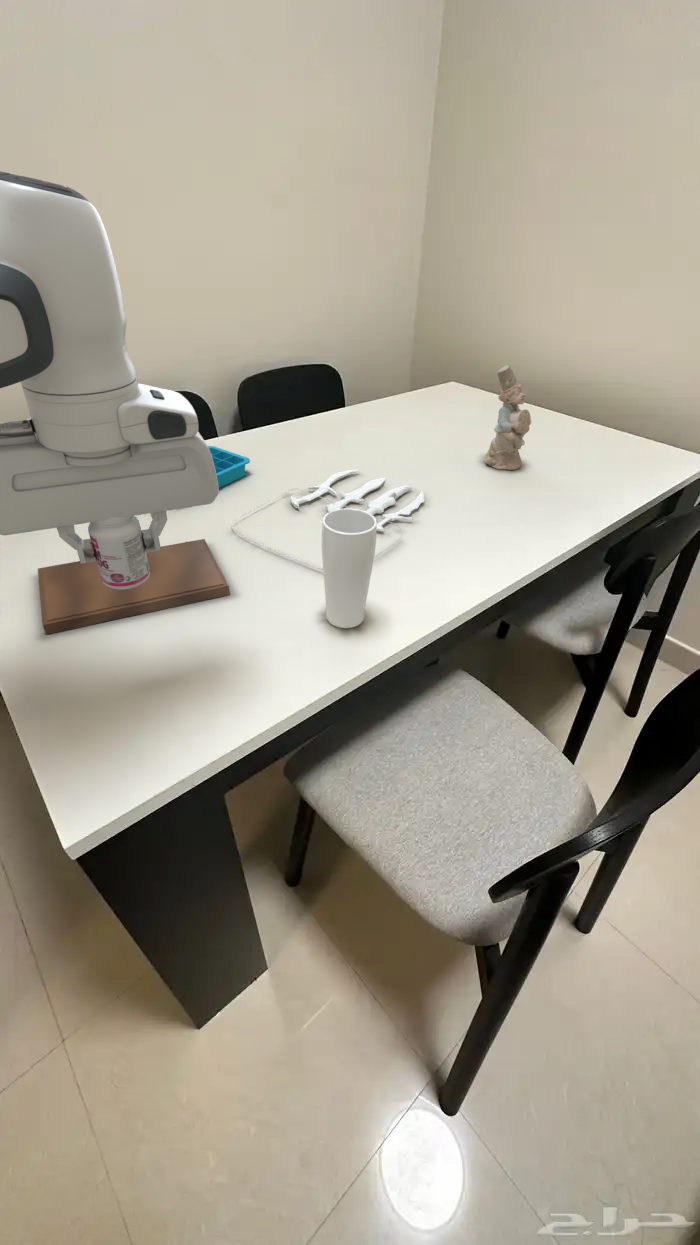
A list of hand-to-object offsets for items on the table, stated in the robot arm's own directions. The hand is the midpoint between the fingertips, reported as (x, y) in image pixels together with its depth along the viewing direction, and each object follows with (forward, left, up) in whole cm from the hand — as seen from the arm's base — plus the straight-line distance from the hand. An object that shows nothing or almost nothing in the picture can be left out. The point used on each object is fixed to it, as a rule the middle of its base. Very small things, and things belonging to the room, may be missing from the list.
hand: (121, 554), depth 58 cm
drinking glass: (+26, +2, -18) cm, 32 cm away
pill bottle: (0, 0, -3) cm, 3 cm away
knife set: (+38, +29, -17) cm, 51 cm away
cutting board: (+1, +20, -17) cm, 27 cm away
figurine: (+80, +39, -18) cm, 91 cm away
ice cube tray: (+17, +51, -18) cm, 57 cm away
